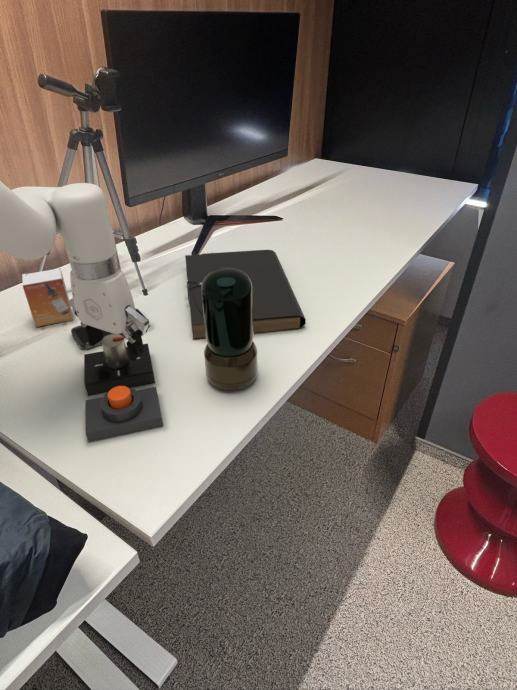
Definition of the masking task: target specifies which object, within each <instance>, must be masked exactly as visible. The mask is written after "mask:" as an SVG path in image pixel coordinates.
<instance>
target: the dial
mask: <svg viewBox="0 0 517 690" xmlns="http://www.w3.org/2000/svg"><path fill="white" fill-rule="evenodd" d="M101 347H102V351H103V352H104V356H105V360H106V364H107V366H108V367H109V368H112V369H118V368H122V367H124V366H125V365H127V363H128V361H129V359H128V355H127V350H126V347H127V344H126V341H125V336H124V337H123V336H122V335H119V334H112V335H108V336H106V337H104V338H103V339H102V341H101Z"/></svg>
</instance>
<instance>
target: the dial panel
mask: <svg viewBox="0 0 517 690" xmlns="http://www.w3.org/2000/svg"><path fill="white" fill-rule="evenodd" d="M143 347H144V353H143V354H142V355H140V356H139V357H138V358H137V359H136V360H134V361H132V360H130V357H129V353H128V348H127V346H126V350H127V355H128V359H129V361H128V363H127V365H125V366H124V367H122V368H118V369H112V368H109V367H108V366H107V364H106V360H105V356H104V352H103V350H102V351H96V352H90V353H85V354H84V355H83V356H84V357H83V378H84V379H83V381H84V382H83V383H84V387H85V390H86V394H87V397H91V396H97V395H102V394H107V393H108V392H109V391H110V390H111V389H112V388H114V387H117V386H126V387H128V388H133V389H135V388H138V387H143V386H149V385H153V384H154V385H155V384H156V380H155V379H156V378H155V373H154V368H153V363H152V358H151V353H150V346H149V343H143Z"/></svg>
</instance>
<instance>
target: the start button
mask: <svg viewBox="0 0 517 690" xmlns="http://www.w3.org/2000/svg"><path fill="white" fill-rule="evenodd" d="M108 399H109V403H110V406H111V407H112V408H113V409H123V408H126V407H128V406H129V405H130V404H131V403H132V397H131V392H130V389H129V388H128V387H126V386H117V387H114V388H112V389H111V390H110V391H109V392H108Z"/></svg>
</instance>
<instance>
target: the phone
mask: <svg viewBox="0 0 517 690" xmlns="http://www.w3.org/2000/svg"><path fill="white" fill-rule="evenodd" d="M135 310H136V311H137V312H138V313H139V314H141V315H142V316H143V317H144V318H146V319H147V320H148V321H149V319H148V318H147V317H146V316H145V315H144V314H143V313H142V312H141V311H140V309H139V308H136V307H135ZM127 323H128V322H127V321H126V324H127ZM84 328H85V327H83V326H82V325H81V324H80V325H78V326H74V327H72V328H71V329H70V331H71V335H72V337H73V339H74V340H75V342H76V343H77V345H78V346H79V347H80V349H81V350H84V351H85V350H86V351H87V350H89V349H92V348H96V347H98V346H100V345H101V346H102V344H101V341H102V340H101V341H99V342H98V343H97V344H95V345H94V346H90V345H89V342H88V339H87V336H86V332H85V329H84ZM148 328H150V324H149V325H148ZM127 329H128V330H129V332H130V333H131V334H133V333H134V332H135V331H134V330H133V329H132V327H131V326H129V327H128V328H127ZM102 332H103V336H104V337H106V336H108V335H112V334H114V333H110V332H107V331H104V330H102ZM119 335H122V336H123V337H124V338H125V336H124V335H123V333H120V334H119Z"/></svg>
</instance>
